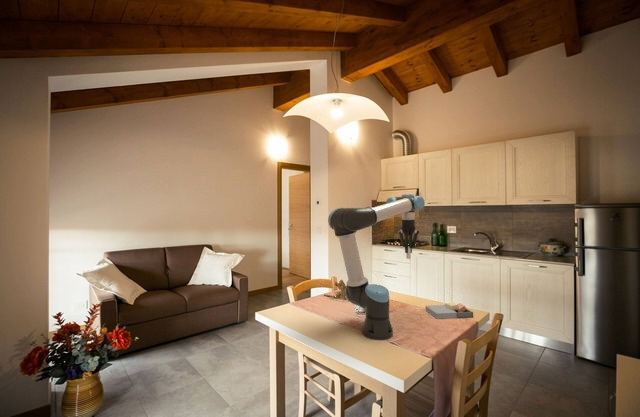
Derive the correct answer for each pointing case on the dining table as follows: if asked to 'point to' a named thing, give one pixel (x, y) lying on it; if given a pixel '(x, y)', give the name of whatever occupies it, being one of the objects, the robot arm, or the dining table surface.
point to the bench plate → (441, 312)
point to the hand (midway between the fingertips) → (408, 258)
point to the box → (464, 314)
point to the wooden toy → (339, 292)
